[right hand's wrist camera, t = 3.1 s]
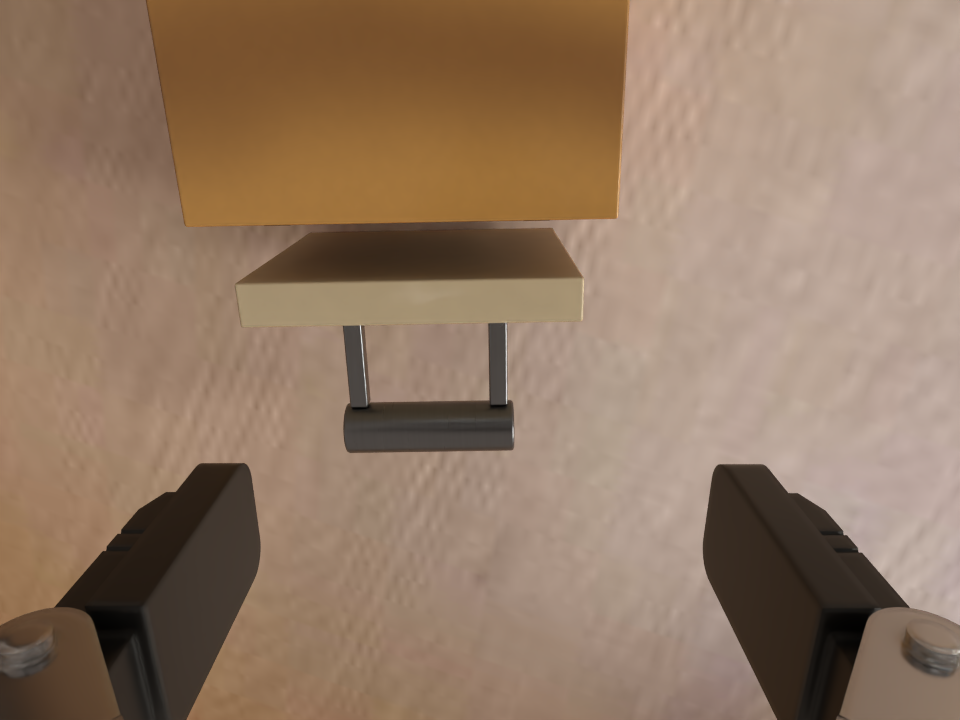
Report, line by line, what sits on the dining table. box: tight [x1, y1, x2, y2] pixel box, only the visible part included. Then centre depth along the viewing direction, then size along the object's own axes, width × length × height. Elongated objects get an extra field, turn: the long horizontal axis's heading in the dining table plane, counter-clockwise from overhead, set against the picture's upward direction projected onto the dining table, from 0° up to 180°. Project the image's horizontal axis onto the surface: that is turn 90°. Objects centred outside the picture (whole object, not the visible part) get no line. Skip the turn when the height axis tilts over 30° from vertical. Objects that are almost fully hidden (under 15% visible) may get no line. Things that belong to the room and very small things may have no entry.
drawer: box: [235, 220, 584, 453], centre depth 19 cm, size 23×9×8 cm, turn 1°
